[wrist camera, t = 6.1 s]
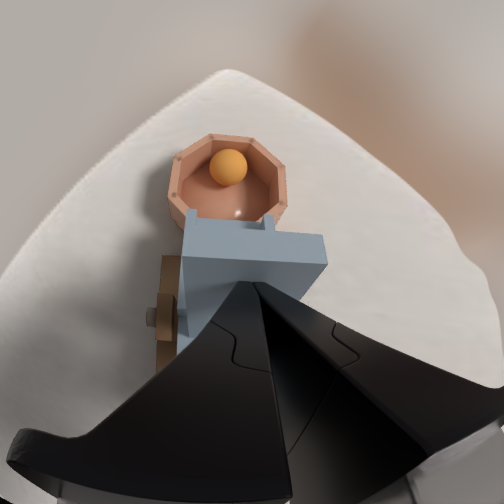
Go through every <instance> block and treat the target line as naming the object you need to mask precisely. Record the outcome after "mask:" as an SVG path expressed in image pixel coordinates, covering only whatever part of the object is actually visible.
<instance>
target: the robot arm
mask: <svg viewBox="0 0 504 504" xmlns="http://www.w3.org/2000/svg"><path fill="white" fill-rule="evenodd" d="M503 425H504V386H502V387H500V388H495V389H494V388H488V387H485V386H482V385H480V384H477V383H475V382H472V381H470V380H467V379H465V378H462V377H460V376H457V375H455V374H452V373H450V372H447V371H445V370H443V369H440V368H438V367H435V366H433V365H431V364H428V363H426V362H423V361H421V360H419V359H416V358H414V357H412V356H409V355H407V354H405V353H402V352H400V351H398V350H395V349H393V348H391V347H389V346H386V345H384V344H382V343H379V342H377V341H375V340H373V339H371V338H369V337H366V336H364V335H362V334H360V333H358V332H356V331H354V330H352V329H350V328H348V327H346V326H344V325H343V324H341V323H339V322H337V323H336V321H334V320H332V319H331V318H329V317H327V316H325V315H323V314H321V313H320V312H318V311H316V310H314V309H312V308H311V307H309V306H307V305H305V304H303V303H301V302H300V301H298V300H296V299H294V298H292V297H291V296H289V295H287V294H285V293H283V292H282V291H280V290H278V289H276V288H274V287H273V286H271V285H269V284H267V283H266V282H252V283H251V282H250V281H238V282H237V283H236V284H235V286H234V287H233V289H232V290H231V291H230V293H229V294H228V296H227V297H226V298H225V300H224V301H223V302H222V304H221V305H220V307H219V308H218V309H217V311H216V312H215V314H214V315H213V316H212V318H211V319H210V320H209V322H208V323H207V324H206V325H205V327H204V328H203V329H202V331H201V332H200V333H199V334H198V335H197V337H196V338H195V339H194V340H193V341H192V342H191V343H190V344H189V345H188V346H187V347H186V348H184V349H183V350H182V351H181V352H180V353H179V354H178V355H177V356H176V357H174V358H173V359H172V360H171V361H170V362H169V363H168V364H167V365H166V366H164V367H163V368H162V369H161V370H160V371H159V372H158V373H157V374H156V375H154V376H153V377H152V378H151V379H150V380H149V381H148V382H147V383H145V384H144V385H143V386H142V387H141V388H140V389H139V390H138V391H136V392H135V393H134V394H133V395H132V396H131V397H130V398H128V399H127V400H126V401H125V402H124V403H123V404H122V405H120V406H119V407H118V408H117V409H116V410H115V411H113V412H112V413H111V414H110V415H109V416H108V417H106V418H105V419H104V420H103V421H102V422H101V423H100V424H98V425H97V426H96V427H95V428H94V429H92V430H91V431H90V432H88V433H87V434H85V435H82V436H79V437H72V438H66V437H60V436H57V435H54V434H50V433H47V432H44V431H40V430H36V429H31V428H24V429H21V430H19V432H18V433H17V434H16V436H15V438H14V439H13V442H12V444H11V446H10V449H9V451H8V455H7V459H6V462H7V464H8V465H9V466H10V467H11V468H12V469H13V470H15V471H16V472H17V473H19V474H20V475H22V476H23V477H24V478H26V479H27V480H29V481H30V482H32V483H33V484H35V485H36V486H38V487H39V488H41V489H42V490H44V491H46V492H47V493H49V494H51V495H52V496H54V497H56V498H57V499H58V500H57V504H285V503H286V502H288V501H289V500H290V504H504V433H503V431H502V429H501V427H502V426H503ZM0 504H12V503H10V502H9V501H7V500H5V499H3V498H1V497H0Z"/></svg>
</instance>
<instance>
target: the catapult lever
mask: <svg viewBox="0 0 504 504" xmlns="http://www.w3.org/2000/svg"><path fill="white" fill-rule="evenodd" d="M327 265H328V261H327V256H326V251H325V246H324V241H323V236H322V235H318V234H306V233H294V232H281V231H275V224H274V215H270V214H264V215H263V218H262V221H261V222H252V221H238V220H224V219H209V218H197V209H187V212H186V221H185V229H184V238H183V247H182V257H181V267H180V278H179V290H178V304H177V310H178V316H179V319H178V337H177V355H178V354H179V353H180V352H181V351H182V350H183V349H184V348H186V347H187V346H188V345H189V344H190V343H191V342H192V341H193V340H194V339H195V338H196V337H197V335H198V334H199V333H200V332H201V331H202V329H203V328H204V327H205V325H206V324H207V323H208V322H209V320H210V319H211V318H212V316H213V315H214V314H215V312H216V311H217V309H218V308H219V307H220V305H221V304H222V302H223V301H224V300H225V298H226V297H227V296H228V294H229V293H230V291H231V290H232V289H233V287H234V286H235V284H236V283H237V282H238V281H250V282H251V283H252V282H266V283H267V284H269V285H271V286H273V287H274V288H276V289H278V290H280V291H282V292H283V293H285V294H287V295H289V296H291V297H292V298H294V299H296V300H298V301H299V300H300V299H301V298H302V297H303V296H304V294H305V293H306V292H307V290H308V289H309V288H310V287H311V285H312V284H313V283H314V282H315V280H316V279H317V278H318V276H319V275H320V274H321V273H322V271H323V270H324V269H325V267H326V266H327Z"/></svg>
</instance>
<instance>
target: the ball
mask: <svg viewBox="0 0 504 504" xmlns="http://www.w3.org/2000/svg"><path fill="white" fill-rule="evenodd" d="M209 169H210V174H211V176H212V178H213V179H214V180H215V181H216V182H217V183H219V184H221V185H224V186H232V185H236V184H238V183H239V182H241V181H242V180H243V178H244V177H245V175H246V173H247V162H246V159H245V157H244V156H243V155H242V154H241V153H240V152H238V151H237V150H234V149H223V150H221V151H219V152H217V153H216V154H215V155H214V156H213V157H212V159H211V162H210V167H209Z"/></svg>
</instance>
